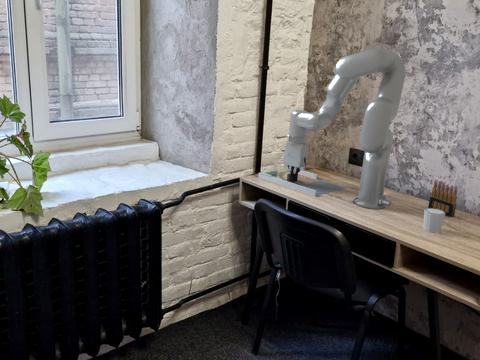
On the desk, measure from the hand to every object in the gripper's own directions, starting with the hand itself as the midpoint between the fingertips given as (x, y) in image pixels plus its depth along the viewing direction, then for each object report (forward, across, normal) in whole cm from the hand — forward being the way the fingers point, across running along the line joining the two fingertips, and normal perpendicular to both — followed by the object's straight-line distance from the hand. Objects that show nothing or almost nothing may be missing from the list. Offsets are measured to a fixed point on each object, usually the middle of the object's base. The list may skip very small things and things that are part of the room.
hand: (293, 181), depth 213 cm
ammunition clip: (+3, +55, +25) cm, 60 cm away
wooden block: (+1, -5, +2) cm, 6 cm away
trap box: (+3, +1, +5) cm, 6 cm away
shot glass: (+3, +62, +3) cm, 62 cm away
